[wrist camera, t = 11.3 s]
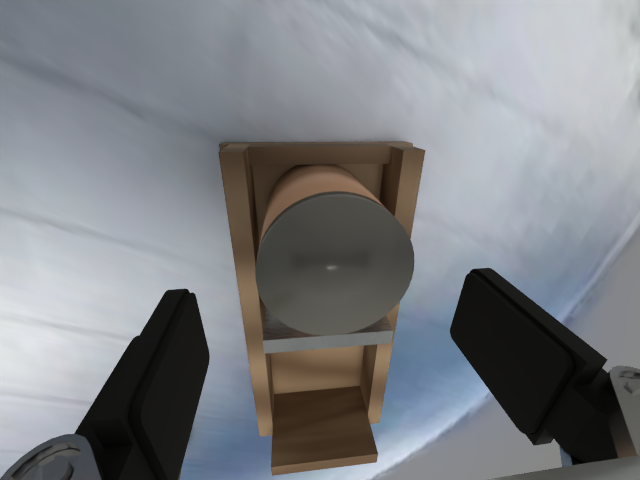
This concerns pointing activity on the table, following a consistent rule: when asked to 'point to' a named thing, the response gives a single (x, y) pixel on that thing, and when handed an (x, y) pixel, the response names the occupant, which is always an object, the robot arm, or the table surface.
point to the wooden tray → (319, 364)
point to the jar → (330, 253)
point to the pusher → (320, 336)
